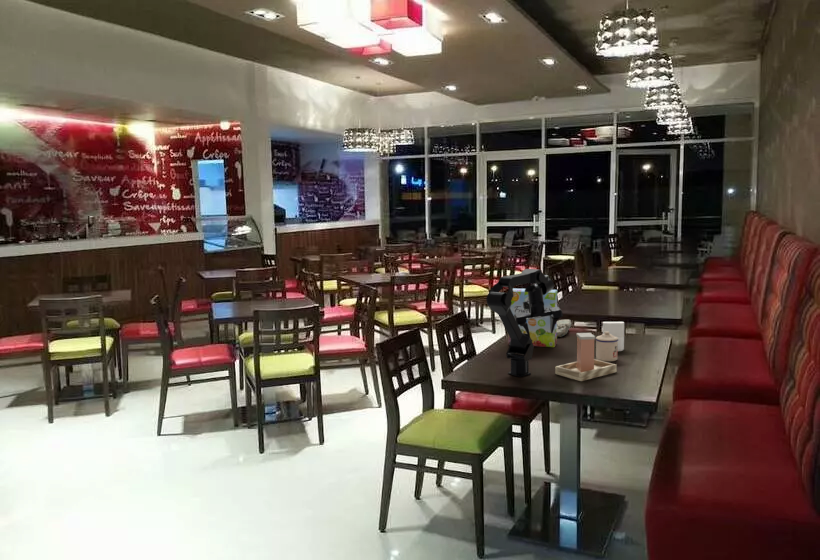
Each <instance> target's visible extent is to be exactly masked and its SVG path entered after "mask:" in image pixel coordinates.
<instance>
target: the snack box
mask: <svg viewBox="0 0 820 560" xmlns="http://www.w3.org/2000/svg"><path fill="white" fill-rule="evenodd" d="M525 289H526V288H516V287H515V288H514V287H513V298H512V300H511V302H512V304H511V307H510V309H511V311H512V313H513V315H515V314H518V313H524V315H529V314H530V313H529V310H528V309H526V310H524V308H523V302H528V304H529V298H528V292H525ZM543 301H544V309H545V312H546V311H550V310H549V309H550V308H552V307H557V306H558V289H552V290H551V291H549V292H548V293H546V294H545V295H543ZM526 323H527V324H528V329H529V333H530V338H531V340H533V341H532V343H533V346H534V347H541V348H542V347H545V348H555V347H556V345H557V339H558V336H557V322H556V324H555V327H554V330H553V333H551V330H550V316H545V317H539V318H534V319H528V320H526ZM519 327H520V329H521V332H522V333H525V334H527V332H526V330H525V328H524V327H523V326H520V325H519ZM507 334H508V333H507ZM507 337H508V340H507V341H508V343H507V345H509V346H510V341H511V338H510V336H509V334H508V335H507Z"/></svg>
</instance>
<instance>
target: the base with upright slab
mask: <svg viewBox="0 0 820 560" xmlns="http://www.w3.org/2000/svg"><path fill="white" fill-rule="evenodd" d="M605 332H609V334H611V335H613V336H615V337H617V338H618V352H622V351H624V350H625V322H624V321H603V322H602V334H605Z"/></svg>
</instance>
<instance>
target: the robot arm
mask: <svg viewBox="0 0 820 560" xmlns="http://www.w3.org/2000/svg"><path fill="white" fill-rule="evenodd" d="M525 284H527V285H526V288H524V289H525V292H528V298H529V304H528V302H523V308H524V310H526V309H528V310H529V313H530V314H529V315H524V313H518V314H515V315H513V313H512V311H511V309H510V307H511V304H512V302H511V300H512V298H513V288H514V287H516V286H522V285H525ZM528 284H529V285H528ZM554 287H555V283H554V282H553V280H552V279H551V278H550V277H549V275H547V274H544V273H543V271H542V270H541V269H536V268H525V269H523V270H522V271H521V272H520V273H516V274H512V275H507V276H500V277H499V279H498V281H497V282H496V283H495V284H494V285H493V286H492V287H491V288H490V290H489V291H488V294H487V295H486V299H485V300H486V303H487V306H488V307H489V309H490V310H491V311H493V312H494V313H496V314H497V315H498V316H499V319H500V321H501V322H502V324H503V327H504V328H505V331H506V333H507V334H509V336H510V338H511V341H510V345H509V347H508V349H507V351H506V359H510V371H508V372H507V374H509V375H511V376H515V377H518V378H521V377H524V376H528V375H531V374H532V372H530V370H529V369H530V368H529V361H530V360H532V358H533V355H534V354H533V353H534V347H535V346H533V343H532V341H533V340H531V338H530V333H529V329H528V324H527V323H526V320H528V319H534V318H539V317H545V316H550V330H551V333H553V330H554V327H555V324H556V322H557V321H559V320H561V318H563V316H564V315H563V311H562V309H561V308H560V306H558V305H557V307H552V308H550V309H549V310H550V311H546V312H545V309H544V301H543V295H545V294H546V293H548V292H549V291H551V290H554ZM504 288H508V290H507V292H501V290H503V289H504ZM519 325H520V326H523V327H524V328H525V330H526V332H527V334H525V333H522V332H521V329H520V327H519Z"/></svg>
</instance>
